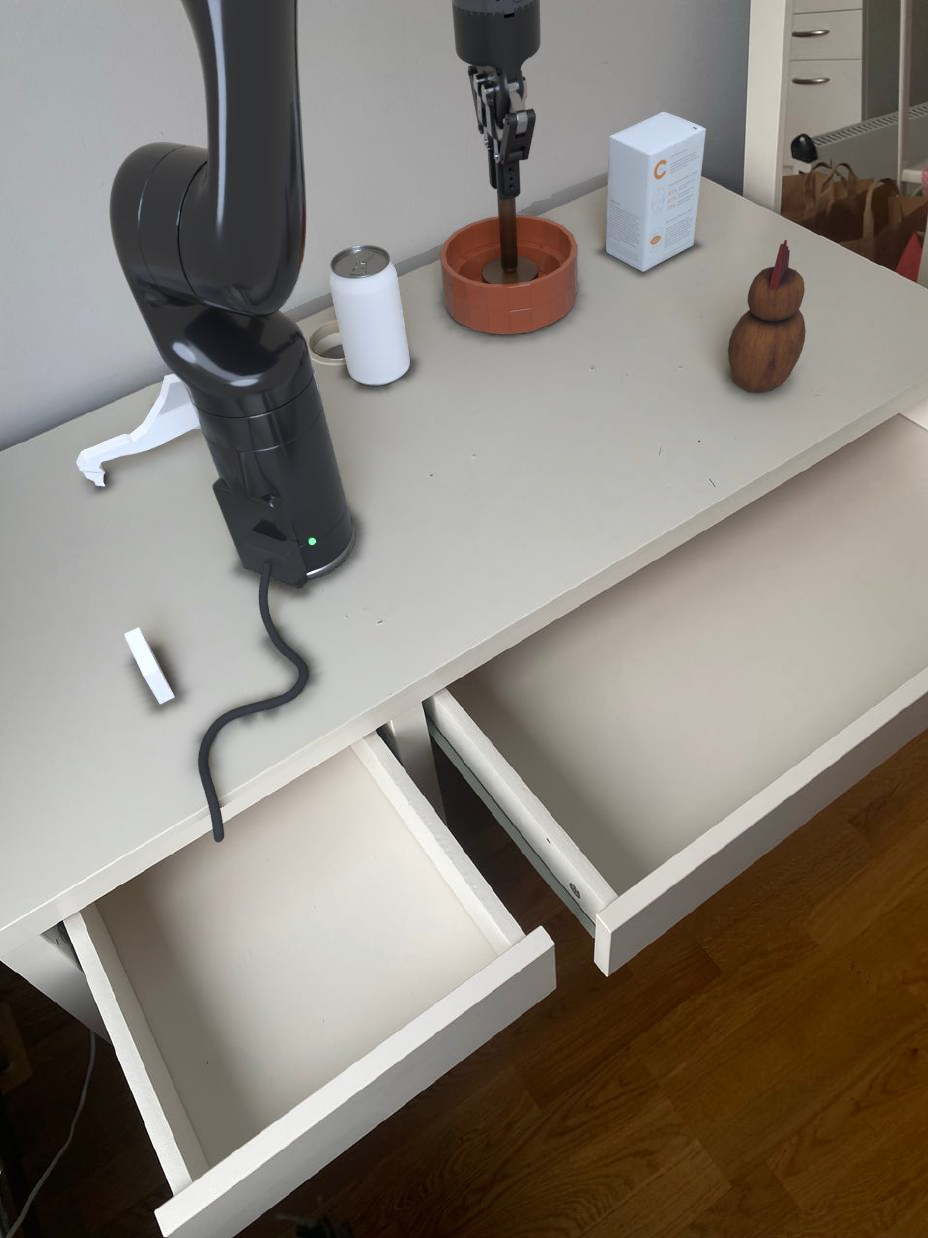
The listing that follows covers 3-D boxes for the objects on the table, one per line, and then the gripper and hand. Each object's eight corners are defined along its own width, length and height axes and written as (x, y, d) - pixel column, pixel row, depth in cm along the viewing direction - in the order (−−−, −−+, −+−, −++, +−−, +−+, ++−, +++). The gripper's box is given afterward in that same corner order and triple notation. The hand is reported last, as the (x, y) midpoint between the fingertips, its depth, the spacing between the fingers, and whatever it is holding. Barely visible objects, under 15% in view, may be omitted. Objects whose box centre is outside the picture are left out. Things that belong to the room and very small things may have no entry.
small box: (655, 225, 110) (664, 108, 100) (694, 246, 107) (708, 127, 96) (603, 252, 107) (607, 134, 97) (642, 273, 104) (650, 154, 94)
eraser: (155, 655, 75) (138, 626, 72) (175, 697, 72) (159, 669, 69) (140, 662, 75) (123, 634, 72) (160, 704, 72) (143, 677, 69)
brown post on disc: (523, 306, 99) (517, 157, 87) (473, 294, 101) (460, 148, 89) (547, 276, 102) (545, 129, 90) (498, 266, 104) (490, 121, 92)
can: (414, 349, 98) (399, 241, 89) (406, 387, 94) (388, 278, 85) (354, 350, 99) (332, 243, 90) (343, 388, 95) (319, 280, 86)
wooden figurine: (761, 410, 88) (791, 261, 76) (712, 384, 91) (734, 237, 79) (806, 377, 90) (842, 228, 79) (757, 353, 93) (784, 206, 82)
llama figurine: (256, 464, 98) (75, 478, 88) (269, 364, 91) (75, 368, 81) (263, 473, 97) (80, 489, 87) (277, 373, 90) (81, 378, 80)
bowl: (541, 351, 96) (539, 298, 92) (422, 321, 101) (415, 270, 97) (597, 279, 104) (598, 228, 99) (483, 255, 109) (480, 205, 104)
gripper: (431, -25, 84) (450, 169, 97) (476, 26, 75) (489, 232, 89) (512, -41, 85) (519, 154, 98) (565, 8, 76) (565, 215, 89)
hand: (505, 190), depth 93 cm, fingers closed on brown post on disc
